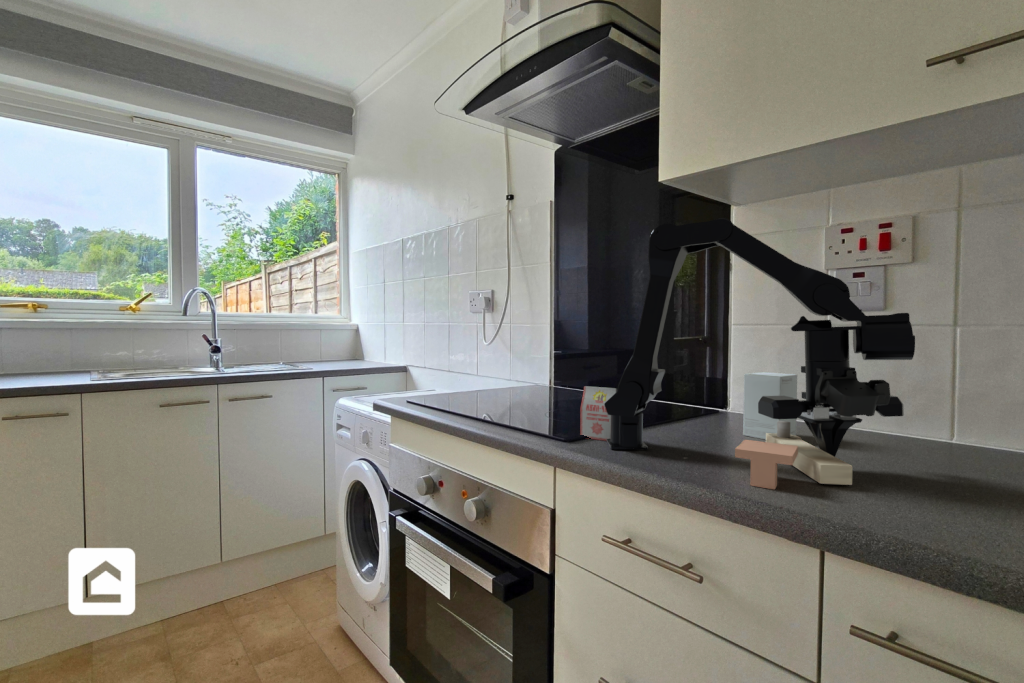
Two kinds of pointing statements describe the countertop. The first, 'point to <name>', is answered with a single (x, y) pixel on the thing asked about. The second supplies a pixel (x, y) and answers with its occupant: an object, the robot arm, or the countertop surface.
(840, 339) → the robot arm
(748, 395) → the supplement box
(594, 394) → the white printed box
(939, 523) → the countertop surface
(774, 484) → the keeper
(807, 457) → the link
